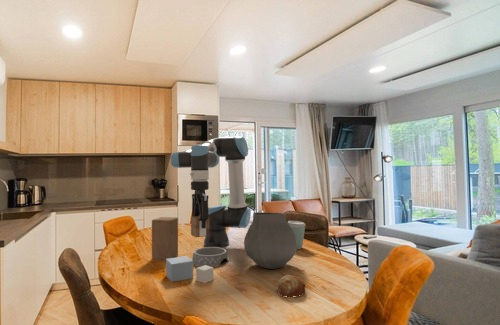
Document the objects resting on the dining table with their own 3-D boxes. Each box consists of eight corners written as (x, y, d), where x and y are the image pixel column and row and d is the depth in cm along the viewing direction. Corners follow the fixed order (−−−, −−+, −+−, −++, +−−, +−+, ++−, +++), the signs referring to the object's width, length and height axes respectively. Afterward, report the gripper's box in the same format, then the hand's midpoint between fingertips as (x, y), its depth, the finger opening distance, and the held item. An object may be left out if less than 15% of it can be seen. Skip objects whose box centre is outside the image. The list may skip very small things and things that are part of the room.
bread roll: (279, 297, 117) (270, 278, 117) (303, 284, 118) (294, 265, 118) (285, 309, 107) (275, 288, 107) (311, 295, 108) (301, 274, 108)
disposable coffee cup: (305, 245, 182) (304, 220, 183) (306, 250, 172) (306, 223, 172) (286, 245, 183) (286, 220, 184) (287, 250, 173) (287, 223, 173)
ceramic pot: (301, 261, 152) (300, 209, 152) (291, 277, 129) (290, 216, 129) (253, 256, 160) (253, 208, 160) (236, 271, 137) (236, 214, 137)
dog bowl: (234, 259, 157) (234, 248, 157) (212, 269, 141) (212, 257, 141) (208, 255, 165) (208, 244, 166) (184, 264, 150) (184, 252, 150)
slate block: (186, 271, 137) (186, 255, 137) (193, 278, 129) (193, 261, 129) (166, 275, 132) (166, 258, 133) (171, 281, 125) (171, 264, 125)
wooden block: (169, 260, 155) (169, 220, 155) (151, 259, 157) (151, 219, 157) (178, 255, 164) (178, 217, 165) (160, 254, 166) (160, 216, 167)
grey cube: (205, 277, 130) (205, 265, 130) (213, 279, 127) (213, 267, 127) (196, 280, 126) (196, 268, 126) (204, 283, 123) (204, 270, 123)
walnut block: (204, 233, 138) (204, 215, 138) (209, 235, 132) (209, 216, 133) (191, 234, 135) (191, 216, 135) (195, 237, 129) (195, 218, 130)
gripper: (184, 180, 141) (184, 231, 140) (199, 181, 124) (199, 239, 123) (200, 180, 144) (200, 230, 144) (216, 180, 128) (217, 237, 127)
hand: (199, 234), depth 134 cm, fingers closed on walnut block, 6 cm apart
